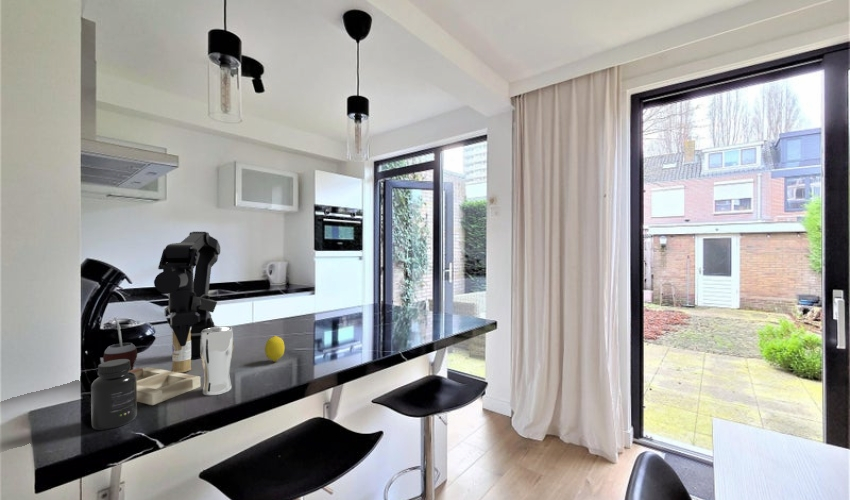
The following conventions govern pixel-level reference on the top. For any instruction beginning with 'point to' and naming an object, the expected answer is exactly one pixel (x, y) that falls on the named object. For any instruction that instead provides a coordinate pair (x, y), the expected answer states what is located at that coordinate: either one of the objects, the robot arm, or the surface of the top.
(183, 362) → the sprinkles bottle
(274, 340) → the lemon
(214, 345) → the beer glass
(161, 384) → the beige wooden flat tray
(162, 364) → the top surface
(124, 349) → the mate gourd
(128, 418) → the supplement bottle
